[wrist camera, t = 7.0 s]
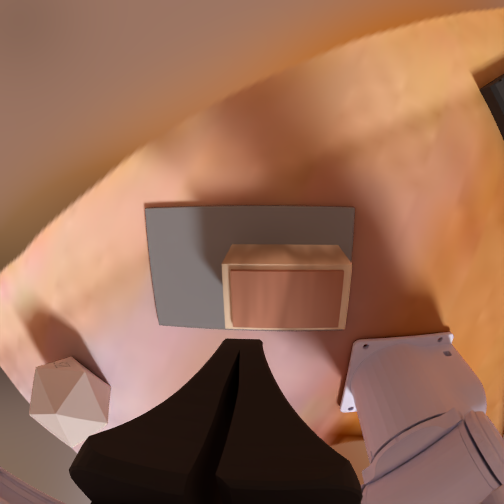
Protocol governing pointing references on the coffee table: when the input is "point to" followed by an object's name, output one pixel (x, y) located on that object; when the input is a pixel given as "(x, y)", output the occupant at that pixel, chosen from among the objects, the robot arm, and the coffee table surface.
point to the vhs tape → (495, 100)
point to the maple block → (286, 287)
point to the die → (69, 400)
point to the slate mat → (226, 251)
